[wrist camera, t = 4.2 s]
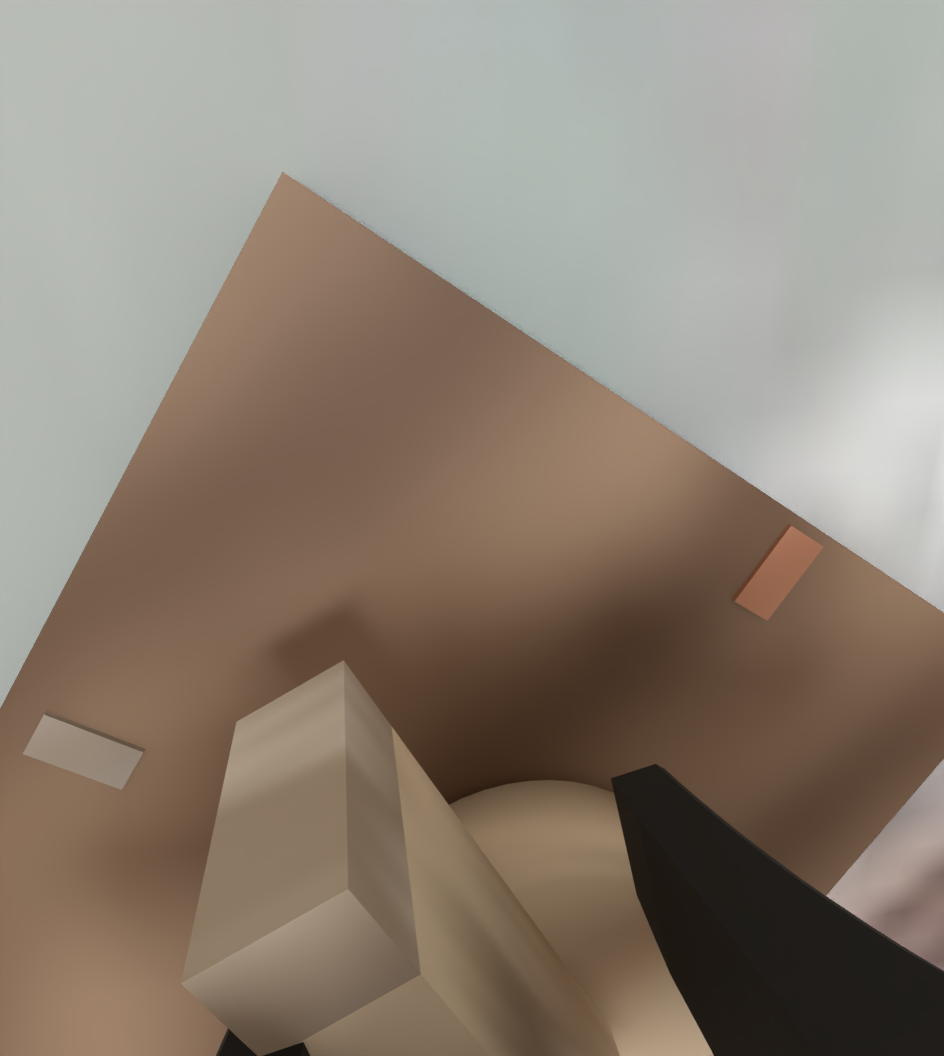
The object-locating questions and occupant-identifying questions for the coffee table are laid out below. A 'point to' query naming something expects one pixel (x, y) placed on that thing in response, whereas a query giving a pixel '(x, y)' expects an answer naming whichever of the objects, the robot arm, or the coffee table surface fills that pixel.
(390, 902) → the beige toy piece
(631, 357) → the coffee table surface
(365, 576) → the plate
